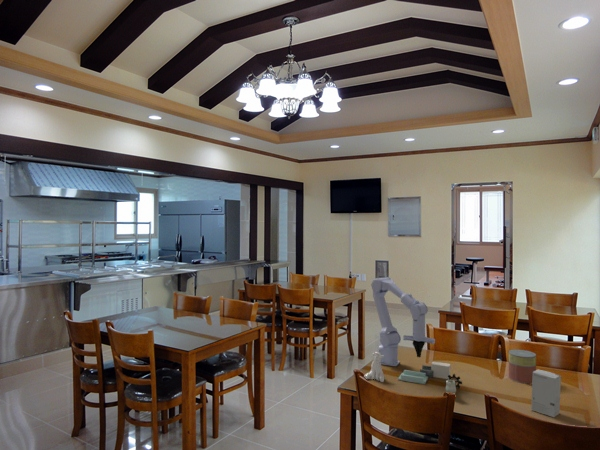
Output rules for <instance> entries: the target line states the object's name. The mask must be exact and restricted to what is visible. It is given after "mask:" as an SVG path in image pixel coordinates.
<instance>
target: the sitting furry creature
mask: <svg viewBox="0 0 600 450" xmlns="http://www.w3.org/2000/svg"><path fill="white" fill-rule="evenodd" d="M383 357H384V355H382V356H381V354H380V353H378V351H376V352H372V356H371V358H372V359H371V360H372V362H371V365H370V368H371V369H370V371H368V372H366V373H365V374H364V375H363V378H364V377H365V378H366V379H367V380H373V379H374V380H375V379H376V380H375V381H380V382H381V383H384V381H385V376H384V372H383V369H382V364H381V363H380V361H381V359H382V358H383ZM366 379H365V380H366Z"/></svg>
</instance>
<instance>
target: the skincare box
mask: <svg viewBox="0 0 600 450" xmlns="http://www.w3.org/2000/svg"><path fill="white" fill-rule="evenodd" d="M561 382H562V376H561V375H560V374H557V373H554V372H550V371H548V370H547V371H546V370H544V369H543V370H541V369H539V368H538V369H536V371H534V372H533V379H532V384H531V405H530V409H531V411H533V412H537V413H538V414H543V415H545V416H549V417H551V418H555V417H557V416H558V415H559V414H560V413H561V412H560V411H561V409H560V408H561Z"/></svg>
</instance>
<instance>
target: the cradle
mask: <svg viewBox="0 0 600 450" xmlns="http://www.w3.org/2000/svg"><path fill="white" fill-rule="evenodd" d="M397 378H398V379H397V380H398V381H403V382H409V383H415V384H420V385H426V383H427V382H428V380H429V377H427V376H426V373H423V372H420V371H416V370H415V371H414V370H408V369H404V370H403V372H401V374H399V377H397Z"/></svg>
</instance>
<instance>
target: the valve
mask: <svg viewBox="0 0 600 450" xmlns="http://www.w3.org/2000/svg"><path fill="white" fill-rule="evenodd" d="M456 375H457V374H456V373H452V375H451V374H450V375H448V378H449V379H445V382H446V383H445V384H446V385H445V392H446V393H447V392H452V393H455V394H456V392H457V389H461V385H463V381H462V380H460V379H461V377H460V376H456Z"/></svg>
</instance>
